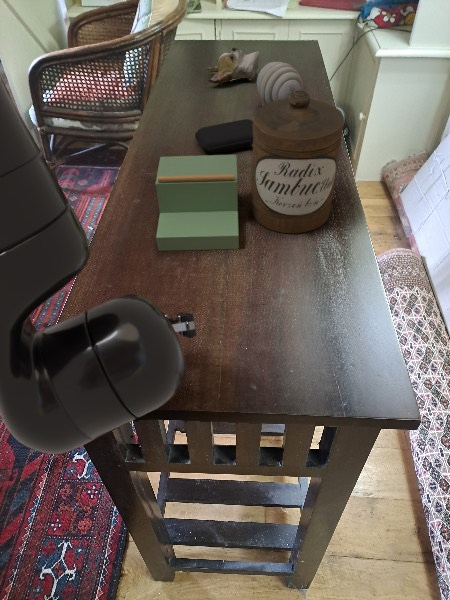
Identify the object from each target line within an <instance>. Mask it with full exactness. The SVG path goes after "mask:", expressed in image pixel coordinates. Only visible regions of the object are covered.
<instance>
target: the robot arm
mask: <svg viewBox="0 0 450 600" xmlns="http://www.w3.org/2000/svg"><path fill="white" fill-rule="evenodd" d="M17 107H18V106H16V104H15V102H14V100H13V97H12V96H11V94H10V92H9V90H8V88H7V86H6V84H5V82H4V80H3V79H2V77H1V75H0V417H1V420H2V421H3V424H4V426H5V427H6V429H7V430H8V432H9V433H10V434H11V436H13V438H14V439H15V440H16V441H18V442H19V443H20V444H22V445H24V446H25V447H27V448H28V449H30V450H33V451H34V452H38V453H42V454H46V455H47V454H48V455H62V454H66V453H68V452H72V451H73V450H77V449H78V448H80V447H82V446H84V445H87V444H89V443H91V442H93V441H95V440H97V439H99V438H101V437H103V436H105V435H107V434H109V433H111V432H113V431H115V430H117V429H119V428H121V427H123V426H125V425H127V424H129V423H131V422H133V421H135V420H137V419H139V418H142V417H144V416H146V415H148V414H150V413H152V412H154V411H156V410H158V409H159V408H161V407H162V406H164V405H165V404H167V403H169V401H171V400H172V399H173V398H174V397H175V396H176V395H177V394H178V393H179V391H180V390H181V387H182V386H183V383H184V379H185V375H186V360H185V353H184V349H183V346H182V343H181V340H180V338H183V337H185V338H189V339H191V338H194V337H197V332H196V324H195V318H194V313H190V312H183V311H181V312H178V313H176V314H175V315H176V317H175V318H173V317H172V314H169V313H167V314H165V313H164V312H163V311H162V310H161V309H160V308H159V306H157V305H156V304H155V303H154V302H152V301H151V300H149V299H148V298H146V297H144V296H142V295H140V294H137V293H125V294H122V295H119V296H115V297H113V298H111V299H108V300H106V301H103V302H101V303H99V304H97V305H95V306H92V307H90V308H89V309H86V310H84V311H81V312H79V313H77V314H75V315H73V316H70V317H69V318H67V319H64V320H62V321H60V322H58V323H56V324H54V325H52V326H49V327H48V328H46V329H43V330H38V329H37V328H36V326H35V325H34V323H33V321H32V319H31V315H32V314H33V313H34V312H35V311H36V310H38V309H39V307H41V306H42V305H43V304H44V303H46V302H47V301H48V300H50V299H51V298H52V297H54V296H55V295H56V294H57V293H59V292H60V291H61V290H63V289H64V288H65V287H66V286H68V285H69V284H70V283H71V282H72V281H73V280H74V279H75V278H76V277H78V276H79V274H80V273H81V272H82V271H83V270H84V268H85V267H86V265H87V263H88V261H89V258H90V253H91V248H90V242H89V239H88V236H87V234H86V231H85V229H84V227H83V225H82V223H81V221H80V220H79V217H78V216H77V214H76V212H75V211H74V209H73V207H72V205H71V204H70V203H69V199H68V198H67V195H66V194H65V192H64V189H62V187H61V185H60V183H59V182H58V179H57V177H56V175H55V174H54V172H53V171H52V169H51V166H50V165H49V163H48V161H47V160H46V158H45V156H44V155H43V153H42V151H41V149H40V147H39V146H38V144H37V142H36V140H35V138H34V137H33V135H32V133H31V131H30V129H29V128H28V125H27V124H26V122H25V120H24V119H23V117H22V115H21V113H20V111H19V109H18V108H17ZM177 333H178V334H179V336H178V334H177ZM179 337H180V338H179Z"/></svg>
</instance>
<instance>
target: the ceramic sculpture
mask: <svg viewBox="0 0 450 600" xmlns="http://www.w3.org/2000/svg"><path fill="white" fill-rule="evenodd" d="M260 52H261V51H260V50H257V51H253V52H250V53H247V54H245V53H244V52H243V51H242V50H241V49H239V48H238V47H237V48H236V47H232V48H231V51H228V52H224V53H222V54H221V55H220V56H219V57H218V59H217V63H216V64H217V65H214V66H212V67H209V66H207V67H205V70H207V71H208V70H209V72H210V71H211V72H210V73H212V72H218V73H217V74H214V75H213V76H212V77H211V78H208V79H207V82H209V83H212V84H216V83H224V82H226V83H232V82H233V81H230V80H232V79H239V80H241V79H240V78H243V79H247V78H249V79H253V80H254V78H255V76H256V73H257V71H258V69H259V64H260ZM227 81H228V82H227ZM249 81H250V82H251V81H252V80H249ZM224 84H225V83H224Z"/></svg>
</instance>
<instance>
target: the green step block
mask: <svg viewBox="0 0 450 600" xmlns="http://www.w3.org/2000/svg"><path fill="white" fill-rule="evenodd" d="M237 159H238V158H237V154H207V155H206V154H205V155H180V156H179V155H178V156H177V155H175V156H174V155H173V156H172V155H171V156H160V157H159V162H158V168H157V173H156V177H155V178H156V179H155V191H156V196H157V202H158V208H159V217H158V224H157V229H156V236H155V240H156V245H157V246H156V247H157V250H158V251H159V252H160V251H161V252H165V251H166V252H167V251H168V252H169V251H207V250H208V251H210V250H239V249H240V243H239V242H240V239H239V238H240V237H239V236H240V235H239V234H240V233H239V232H240V231H239V211H238V210H239V202H238V201H239V200H238V199H239V197H238V191H239V190H238V189H239V188H238V160H237Z"/></svg>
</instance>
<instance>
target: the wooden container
mask: <svg viewBox="0 0 450 600" xmlns="http://www.w3.org/2000/svg"><path fill="white" fill-rule="evenodd" d="M252 121H253V147H252V162H251V163H252V164H251V190H250V191H251V192H250V193H251V195H250V196H251V197H250V202H251V203H250V205H251V207H250V209H251V214H252V216H253V218H254V219H255V220H256V222H257V223H258V224H260V225H261V226H262V227H264V228H266V229H268V230H270V231H274V232H278V233H283V234H303V233H308V232H311V231H313V230H314V231H315V230H316V229H318V228H320V227H321V226H323V225H324V224H325V223H326V222H327V221H328V219H329V218H330V214H331V209H332V202H333V198H334V193H335V186H336V181H337V173H338V165H339V158H340V152H341V145H342V143H341V142H342V137H343V130H344V123H345V118H344V115H343V112H341V110H339V109H338V108H337V107H336V106H334V105H332V104H330V103H327V102H325V101H323V100H319V99H313V98H311V94H309V92H306V91H304V90H302V91H301V90H297V91H295V92H294V93H292V94H291V95H290V96H289V98H286V99H280V100H276V101H272V102H270V103H267V104H265V105H263V106H262V105H261V106H260V107H259V108H257V109H256V111H255V112H254V114H253V116H252Z"/></svg>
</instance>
